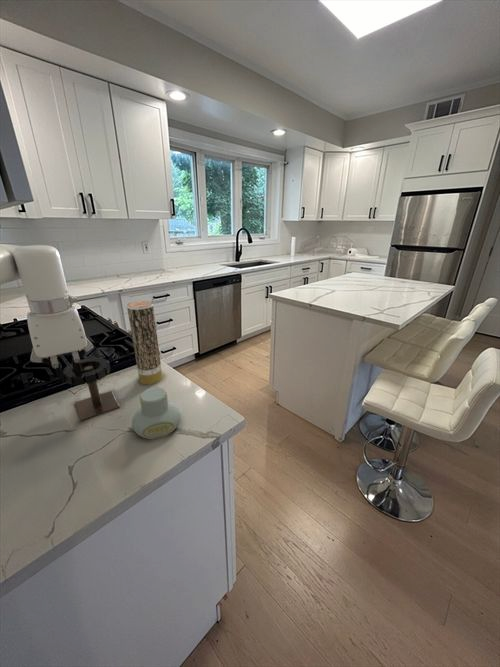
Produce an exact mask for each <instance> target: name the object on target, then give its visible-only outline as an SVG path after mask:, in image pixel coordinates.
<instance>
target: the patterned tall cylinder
mask: <svg viewBox="0 0 500 667" xmlns="http://www.w3.org/2000/svg"><path fill="white" fill-rule="evenodd" d="M126 308H127V315H128V322H129V327H130V333H131V338H132V344H133V345H132V346H133V352H134V356H135V363H136V368H137V373H138V380H139V383H140V384H142V385H154V384H157V383H159V382H161V381H162V379H163V371H162V362H161V356H160V346H159V339H158V332H157V323H156V316H155V308H154V302H152V301H149V300H138V301H132V302H129V303H127V305H126Z"/></svg>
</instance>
